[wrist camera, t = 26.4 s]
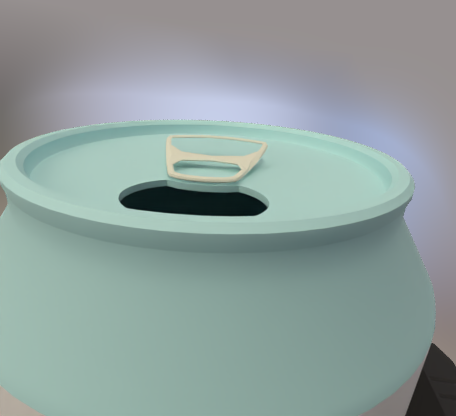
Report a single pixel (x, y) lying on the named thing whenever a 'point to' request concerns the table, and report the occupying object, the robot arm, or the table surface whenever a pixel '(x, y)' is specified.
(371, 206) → the can
